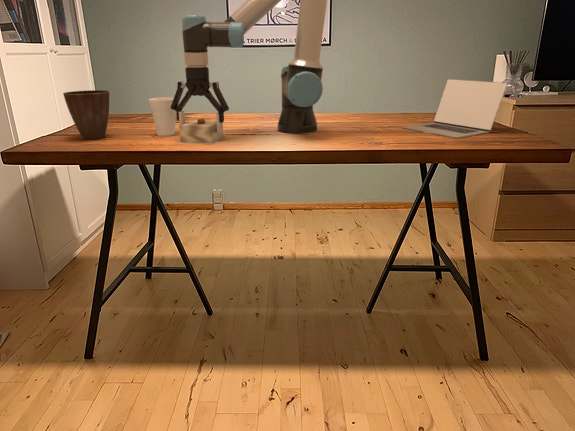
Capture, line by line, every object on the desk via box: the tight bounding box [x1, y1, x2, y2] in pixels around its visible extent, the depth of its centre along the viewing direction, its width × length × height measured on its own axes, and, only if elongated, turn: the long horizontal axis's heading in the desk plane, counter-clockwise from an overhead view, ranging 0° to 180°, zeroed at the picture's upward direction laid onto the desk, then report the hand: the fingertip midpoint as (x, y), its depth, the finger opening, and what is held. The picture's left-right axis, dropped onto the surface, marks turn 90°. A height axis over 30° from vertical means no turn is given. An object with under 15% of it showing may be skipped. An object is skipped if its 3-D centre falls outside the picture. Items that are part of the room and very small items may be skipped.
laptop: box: [401, 78, 508, 140], centre depth 168 cm, size 26×24×18 cm
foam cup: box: [148, 96, 177, 137], centre depth 166 cm, size 10×9×13 cm
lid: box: [178, 118, 224, 143], centre depth 157 cm, size 11×11×7 cm
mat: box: [174, 135, 229, 145], centre depth 159 cm, size 14×14×1 cm
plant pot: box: [63, 89, 110, 140], centre depth 162 cm, size 15×15×16 cm
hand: (201, 131), depth 157 cm, fingers open, 13 cm apart
